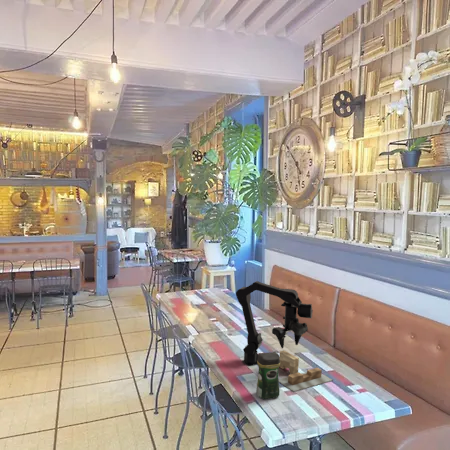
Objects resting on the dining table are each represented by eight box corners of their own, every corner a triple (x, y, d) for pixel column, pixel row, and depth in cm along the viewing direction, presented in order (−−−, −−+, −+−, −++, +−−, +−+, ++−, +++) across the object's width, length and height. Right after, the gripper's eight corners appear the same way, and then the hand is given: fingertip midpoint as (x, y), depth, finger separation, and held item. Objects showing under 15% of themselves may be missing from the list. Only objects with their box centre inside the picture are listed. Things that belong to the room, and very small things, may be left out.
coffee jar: (273, 389, 165) (275, 348, 164) (281, 398, 158) (283, 355, 157) (253, 392, 163) (255, 350, 162) (260, 401, 155) (262, 357, 154)
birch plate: (293, 375, 180) (294, 359, 179) (279, 366, 189) (279, 351, 189) (298, 374, 181) (298, 358, 181) (283, 365, 191) (284, 350, 190)
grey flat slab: (293, 392, 164) (293, 383, 163) (276, 380, 174) (277, 372, 174) (332, 380, 176) (333, 372, 175) (314, 370, 186) (315, 362, 186)
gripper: (287, 322, 172) (285, 355, 173) (316, 317, 182) (314, 348, 183) (271, 316, 182) (270, 347, 183) (300, 311, 192) (299, 341, 192)
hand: (289, 346), depth 185 cm, fingers open, 9 cm apart
